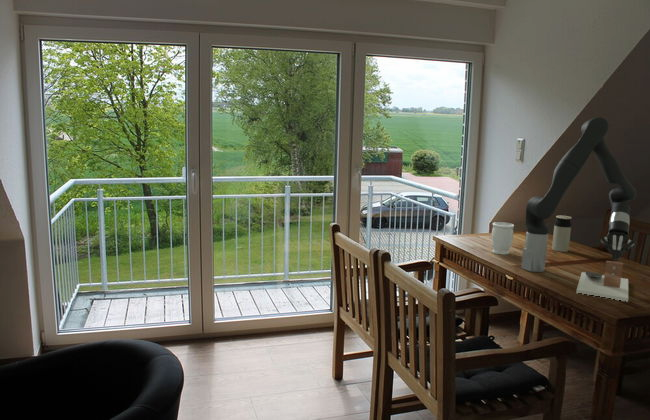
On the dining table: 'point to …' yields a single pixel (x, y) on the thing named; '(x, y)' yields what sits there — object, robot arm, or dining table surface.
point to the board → (602, 287)
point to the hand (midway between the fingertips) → (615, 259)
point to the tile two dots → (613, 274)
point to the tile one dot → (594, 274)
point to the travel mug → (561, 234)
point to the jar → (502, 237)
